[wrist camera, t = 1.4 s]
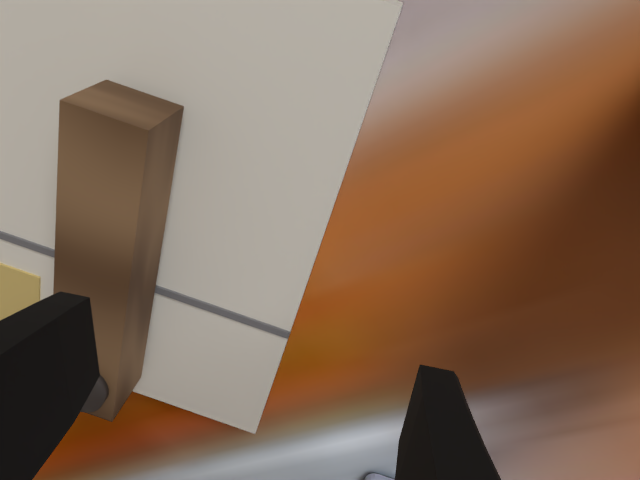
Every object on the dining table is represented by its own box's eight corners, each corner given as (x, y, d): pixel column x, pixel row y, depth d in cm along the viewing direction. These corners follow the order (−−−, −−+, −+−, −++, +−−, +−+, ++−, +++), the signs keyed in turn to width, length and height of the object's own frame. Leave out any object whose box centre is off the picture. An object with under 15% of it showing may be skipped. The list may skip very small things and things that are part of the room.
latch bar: (140, 377, 22) (106, 430, 20) (84, 357, 22) (43, 408, 20) (184, 106, 16) (141, 135, 14) (105, 79, 16) (50, 103, 14)
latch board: (262, 413, 25) (254, 435, 23) (-110, 283, 25) (-135, 299, 24) (403, 2, 15) (401, 7, 14) (-191, -201, 15) (-239, -212, 14)
